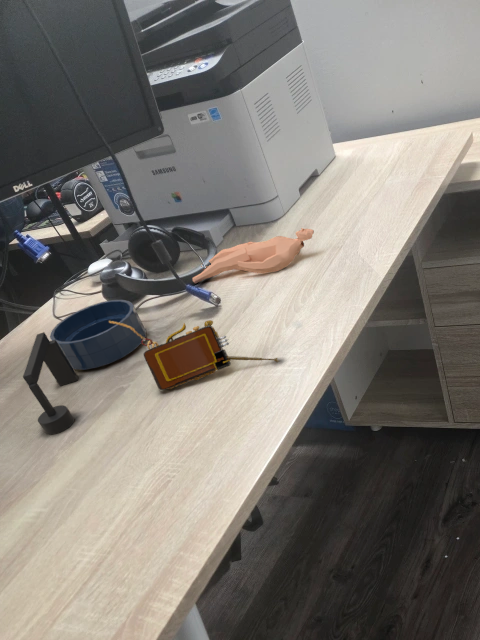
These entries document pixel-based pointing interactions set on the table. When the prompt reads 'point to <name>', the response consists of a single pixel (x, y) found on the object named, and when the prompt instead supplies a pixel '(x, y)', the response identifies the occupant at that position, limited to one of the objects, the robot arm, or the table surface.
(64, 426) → the articulated desk lamp
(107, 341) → the bowl
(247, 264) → the male figurine
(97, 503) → the table surface
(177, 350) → the brown box with rod
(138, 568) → the table surface
